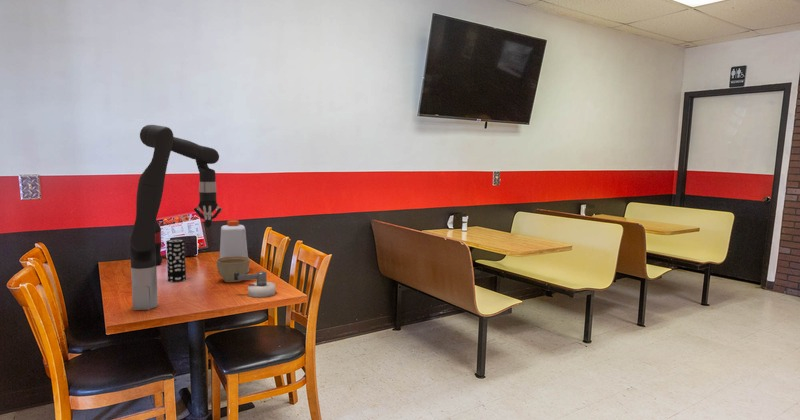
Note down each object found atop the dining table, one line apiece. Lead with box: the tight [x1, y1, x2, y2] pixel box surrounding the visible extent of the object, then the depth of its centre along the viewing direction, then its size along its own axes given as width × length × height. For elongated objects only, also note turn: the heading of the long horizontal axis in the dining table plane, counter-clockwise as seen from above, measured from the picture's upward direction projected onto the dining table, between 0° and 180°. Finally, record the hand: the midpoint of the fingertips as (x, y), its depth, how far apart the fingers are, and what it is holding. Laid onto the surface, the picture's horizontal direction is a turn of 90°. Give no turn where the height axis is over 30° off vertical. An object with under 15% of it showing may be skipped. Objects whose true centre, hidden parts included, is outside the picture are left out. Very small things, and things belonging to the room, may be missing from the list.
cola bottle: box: [155, 220, 163, 267], centre depth 268 cm, size 8×8×30 cm
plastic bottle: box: [219, 219, 250, 273], centre depth 257 cm, size 15×15×28 cm
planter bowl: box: [215, 256, 251, 283], centre depth 240 cm, size 16×16×11 cm
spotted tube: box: [165, 238, 187, 283], centre depth 238 cm, size 8×8×20 cm
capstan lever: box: [234, 270, 268, 286], centre depth 218 cm, size 14×4×6 cm, turn 99°
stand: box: [247, 281, 276, 299], centre depth 219 cm, size 12×12×5 cm
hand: (208, 227), depth 226 cm, fingers closed
